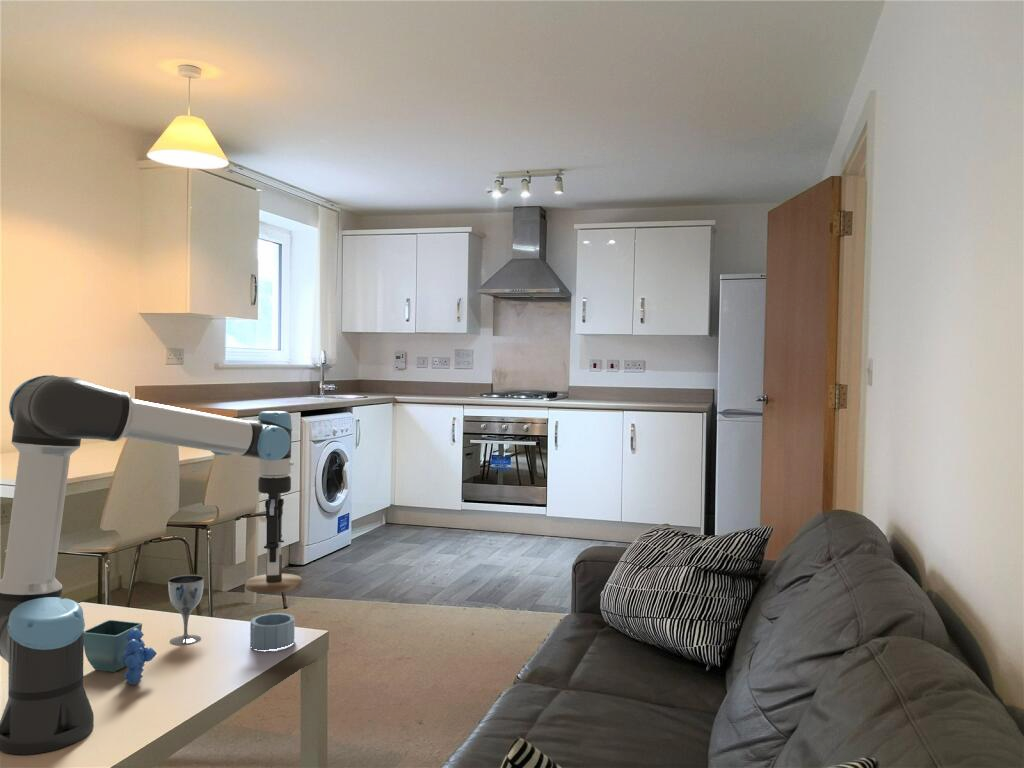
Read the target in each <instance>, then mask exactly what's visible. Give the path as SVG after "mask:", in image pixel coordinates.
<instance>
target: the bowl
mask: <svg viewBox="0 0 1024 768" xmlns="http://www.w3.org/2000/svg"><path fill="white" fill-rule="evenodd" d="M295 621H296V617H295V616H294V615H293V614H290V613H283V612H275V613H265V614H261V615H257V616H255V617H253V618H251V621H250V626H249V627H250V630H249V631H250V639H249V640H250V641H249V642H250V643H249V648H250V647H252V648H253V649H257V650H269V649H277V648H281V647H285V646H288V645H290V644H292V643H294V644H295V642H294V639H296V638H295V637H296V635H295V634H296V633H295V630H296V629H295V628H296V626H295V625H296V624H295V623H296V622H295ZM252 648H251V649H252ZM253 649H252V650H253Z"/></svg>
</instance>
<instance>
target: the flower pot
mask: <svg viewBox="0 0 1024 768" xmlns="http://www.w3.org/2000/svg"><path fill="white" fill-rule="evenodd" d="M134 628H137V629H139V630H140V631H141V632H142V629H143V622H142V623H141V622H135V621H124V620H115V619H109V620H108V619H107V620H106V621H103V622H101V623H99V624H97V625H94V626H92V627H91V628H89V629H86V630H84V654H85V657H86V659H87V661H88V663H89V664H90V666H91V667H92V668H93V669H94V670H95V671H102V672H109V673H115V672H117V671H120V670H121V669H122V668H124V667H127V666H126V665H125V664H124V663H123V662H124V660H123V659H122V658H121V657H122V656H123V654H124V653H125V652H126V649H125V648H124V647H125V645H126V644H127V643H128V642H129V641H128V640H127V639H126V638H125V636H126V635H127V634H128V633H129V632H130V631H131V630H132V629H134Z"/></svg>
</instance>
